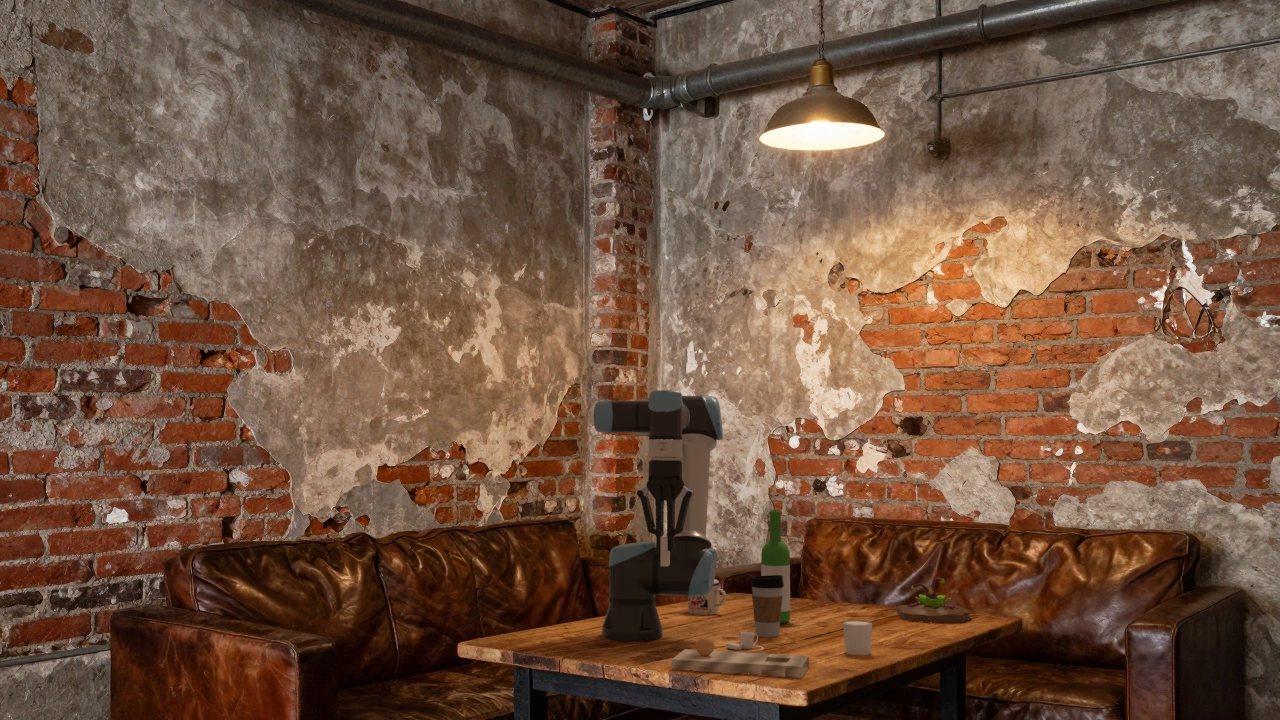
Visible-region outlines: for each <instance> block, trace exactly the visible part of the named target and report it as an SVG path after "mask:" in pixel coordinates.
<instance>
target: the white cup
mask: <svg viewBox="0 0 1280 720" xmlns="http://www.w3.org/2000/svg"><path fill="white" fill-rule="evenodd" d="M842 627H843V639H844V647H845V648H844V649H845V653H846V654H847V655H853V656H867V655H870V654H871V645H872V635H873V634H872V633H873V623H872V622H871V621H864V620H848V621H847V620H846V621H844V622H842Z"/></svg>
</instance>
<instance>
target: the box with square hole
mask: <svg viewBox="0 0 1280 720" xmlns="http://www.w3.org/2000/svg"><path fill="white" fill-rule="evenodd" d="M809 667H810V656H809V655H800V654H799V655H798V654H797V655H795V654H781V653H780V654H778V653H776V654H775V653H763V652H762V653H761V652H759V653H758V652H745V651H744V652H740V651H725V650H724V651H723V650H722V651H721V650H720V651H719V650H713V652H712V653H711V654H710V655H708V656H703V655H700V654H699V653H698V652H697V650H696V649H687V648H685V649H683V650H682V651H681V652H679V653H678V654H677V655H676V656H675V657H673V658H672V659H671V670H674V669H681V670H680V671H689V670H693V671H694V672H704V671H705V672H706V673H718V672H721V674H722V673H723V674H733V673H741V674H740V675H743V674H742V673H746V674H745V675H748V673H749V674H761V675H760V676H763V675H770V676H769V677H778V676H781V677H782V678H793V677H794V678H795V679H803V677H804V676H803V675H805V674H806V672H807V670H808V669H809ZM693 671H692V672H693ZM705 672H704V673H705ZM781 677H780V678H781Z"/></svg>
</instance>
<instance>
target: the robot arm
mask: <svg viewBox="0 0 1280 720" xmlns="http://www.w3.org/2000/svg"><path fill="white" fill-rule="evenodd" d="M648 396H649V397H647V398H639V399H635V400H609V399H608V400H603V401H602V400H598V401H597V402H596V403H595V405H594V408H593V416H592V417H593V426H594V429H595V431H596V432H597V433H606V434H617V433H618V434H619V433H621V434H624V433H625V434H628V433H629V434H631V433H632V434H634V435H636V436H640V437H641V436H642V437H643V436H644V437H647V438H648V457H649V458H651V459H650V460H649V461H648V481H647V482H646V484H645V485H646V486H645V487H643V488H641V489H638V490H637V491H636V494H637V497H638V498H639V499H640V501H641V505H642V510H643V515H644V519H645V524H646V528H647V532H648V533H649V534H653V535H654V536H655V538H656V539H655V540H656V541H653V540H652V541H638V542H632V543H631V542H629V543H626V544H620V545H617V546H616V545H615V546H614V547H612V548H611V549H610V552H609V560H608V561H609V562H608V566H607V567H608V608H607V611H606V614H605V618H604V620H603V623H602V627H601V637H602V638H603V637H604V639H605V638H607V639H606V640H609V639H611V640H610V641H616V640H618V641H617V642H646V641H647V642H648V641H649V642H650V641H655V640H658V639H661V638H663V627H662V626H663V625H662V622H661V619H660V616H659V613H658V610H657V606H656V596H659V595H660V596H679V597H680V596H684V597H685V596H687V597H688V596H690V597H692V596H704V595H707V594H708V593H709V592H710V591H711V589H712V587H713V583H714V579H715V578H716V573H717V560H718V552H717V550H716V549H714V548H713V547H712V542H711V540H710V539H708V537H707V521H708V520H707V518H708V504H709V503H708V501H709V483H710V482H709V481H710V463H711V461H710V460H711V452H712V451H713V450H715V449H716V447H717V441H720V440H723V437H724V431H723V421H722V414H721V413H722V412H721V406H720V402H719V400H718V398H717V397H716V396H713V395H703V394H700V395H683V394H682V392H681V391H679V390H672V389H670V390H669V389H667V390H663V389H662V390H652V391H650V392H649V395H648ZM650 495H651V496H652V497H653V499H654V501H655V503H654V504H655V519H654V515H653V510H652V507H651V502H650V501H651V500H650V499H649V496H650ZM665 501H666V533H665V531H664V530H665V529H664V528H665V527H664V524H665V523H664V521H665V519H664V518H665V517H664V515H665V512H664V511H665V509H664V508H665V507H664V506H665ZM715 580H716V579H715Z"/></svg>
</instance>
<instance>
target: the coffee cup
mask: <svg viewBox="0 0 1280 720" xmlns="http://www.w3.org/2000/svg"><path fill="white" fill-rule="evenodd" d="M783 585H784V583H783V576H782V575H769V576H761V575H755V576H754V575H753V576H752V577H751V581H750V587H751V588H752V589H751V591H752V594H751V597H752V600H751V601H752V606H753V607H752V608H753V618H754V627H755V628H754V630H755V632H754V633H755V634H757V635H758V637H765V638H772V637H773V638H774V637H779V636H780V628H781V627H780V626H781V623H780V617H781V606H782V587H784V586H783ZM757 635H756V636H757Z"/></svg>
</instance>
